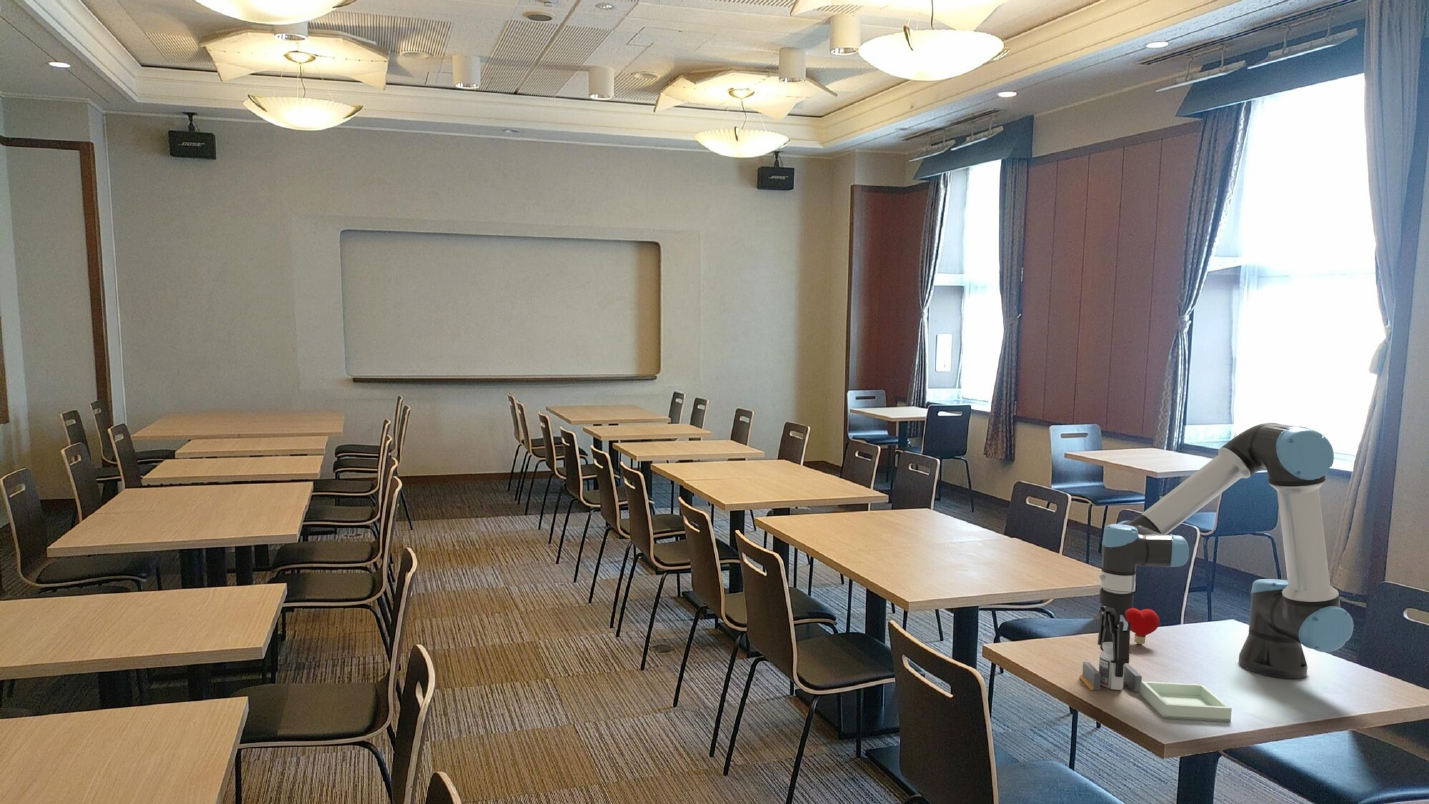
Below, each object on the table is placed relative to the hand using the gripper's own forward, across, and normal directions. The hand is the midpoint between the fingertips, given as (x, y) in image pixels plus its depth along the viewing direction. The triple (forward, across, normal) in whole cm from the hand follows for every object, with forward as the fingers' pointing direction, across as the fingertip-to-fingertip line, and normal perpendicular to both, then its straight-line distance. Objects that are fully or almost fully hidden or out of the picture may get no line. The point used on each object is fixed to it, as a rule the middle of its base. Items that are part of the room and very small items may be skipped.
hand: (1111, 683), depth 223 cm
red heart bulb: (+1, -32, +19) cm, 37 cm away
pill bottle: (+1, 0, 0) cm, 1 cm away
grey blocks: (0, 0, 0) cm, 0 cm away
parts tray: (0, +12, +12) cm, 17 cm away
